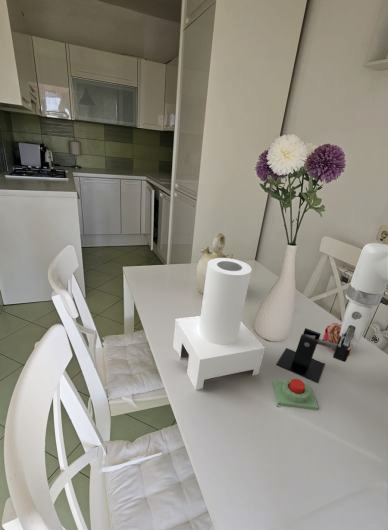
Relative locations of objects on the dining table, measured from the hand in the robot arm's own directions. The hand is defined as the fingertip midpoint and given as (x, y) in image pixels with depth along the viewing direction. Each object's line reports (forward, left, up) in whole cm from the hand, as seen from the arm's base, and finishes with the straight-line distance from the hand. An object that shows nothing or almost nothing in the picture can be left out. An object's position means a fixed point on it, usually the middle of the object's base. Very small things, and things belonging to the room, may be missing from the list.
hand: (340, 353), depth 83 cm
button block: (+13, +9, -10) cm, 18 cm away
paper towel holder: (+34, -2, -10) cm, 35 cm away
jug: (+35, -48, -10) cm, 60 cm away
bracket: (+8, -4, -10) cm, 13 cm away
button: (+13, +9, -6) cm, 17 cm away
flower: (-6, -16, -10) cm, 20 cm away
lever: (+3, -2, 0) cm, 4 cm away
